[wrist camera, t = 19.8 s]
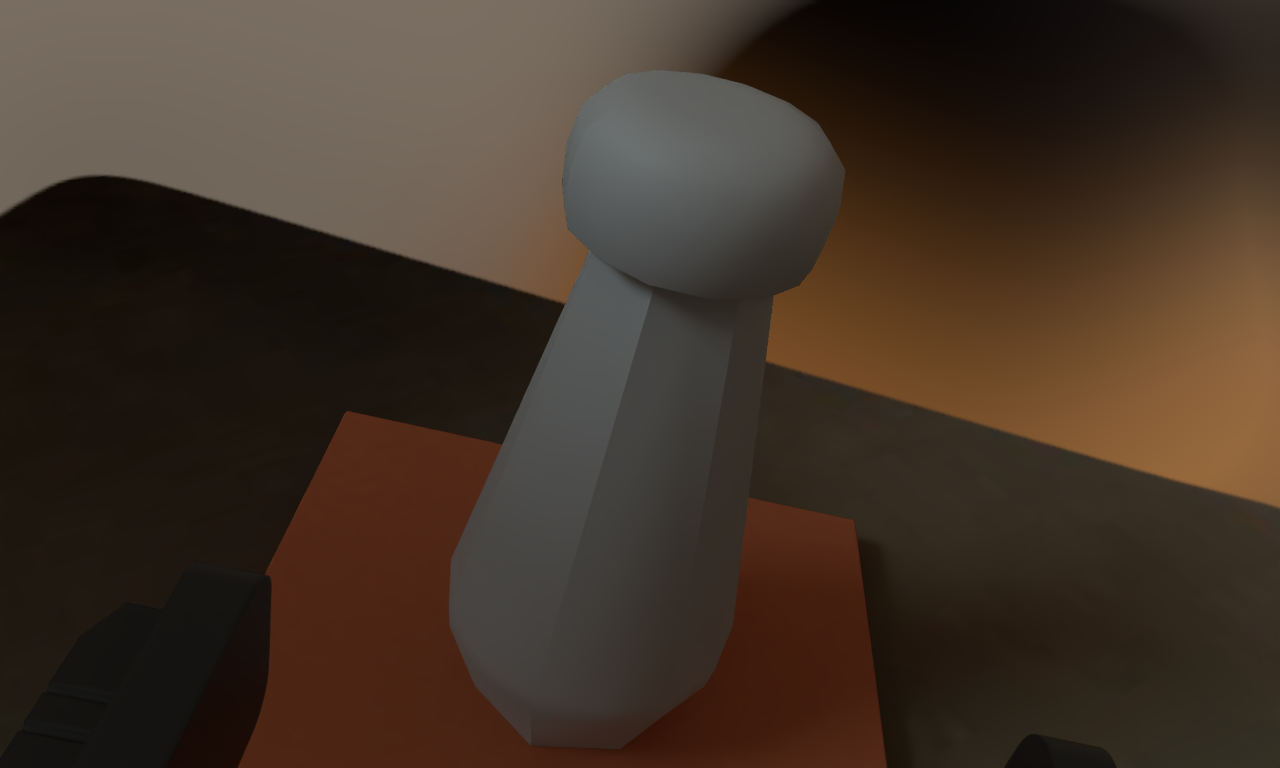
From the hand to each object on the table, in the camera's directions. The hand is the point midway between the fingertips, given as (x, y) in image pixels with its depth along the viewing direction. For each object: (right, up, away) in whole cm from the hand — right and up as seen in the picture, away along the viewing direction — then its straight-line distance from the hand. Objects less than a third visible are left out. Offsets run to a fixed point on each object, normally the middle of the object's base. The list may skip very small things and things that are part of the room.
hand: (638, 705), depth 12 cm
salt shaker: (-2, -3, +12) cm, 13 cm away
